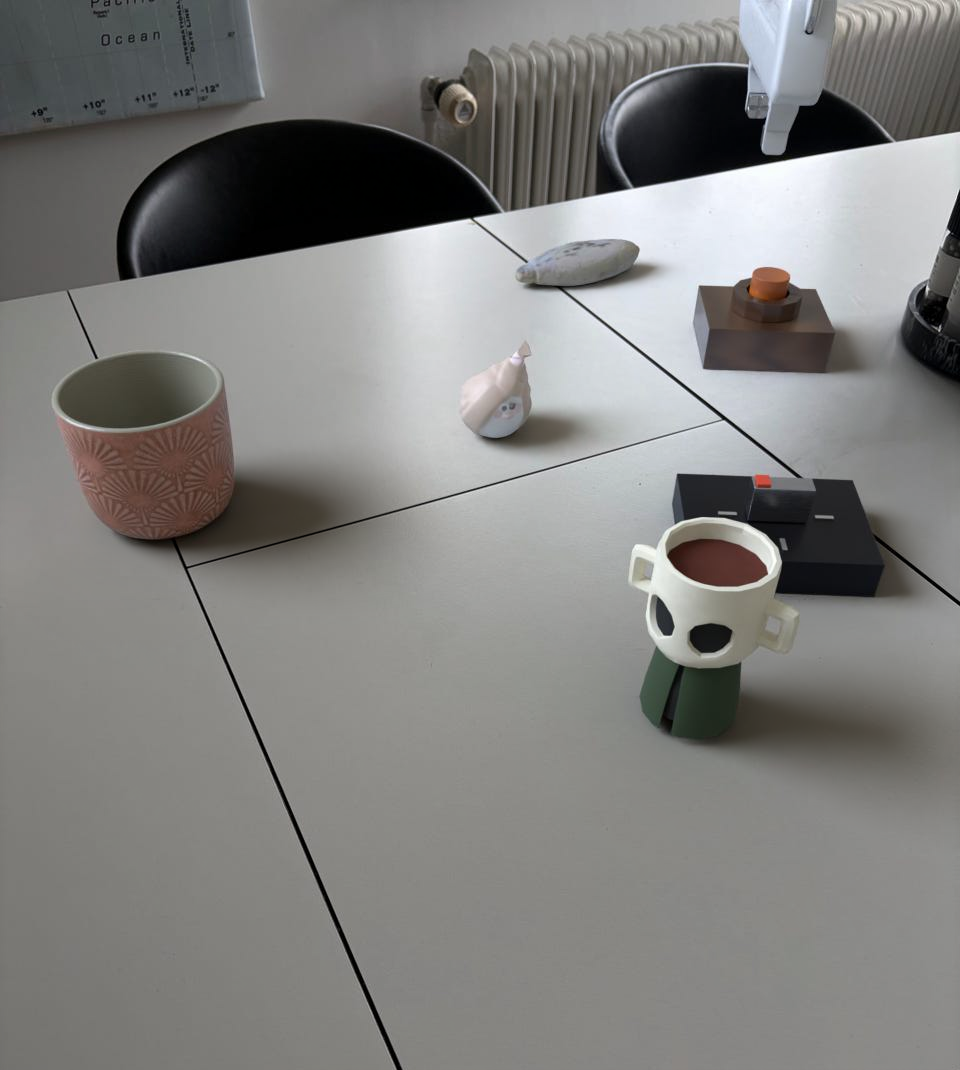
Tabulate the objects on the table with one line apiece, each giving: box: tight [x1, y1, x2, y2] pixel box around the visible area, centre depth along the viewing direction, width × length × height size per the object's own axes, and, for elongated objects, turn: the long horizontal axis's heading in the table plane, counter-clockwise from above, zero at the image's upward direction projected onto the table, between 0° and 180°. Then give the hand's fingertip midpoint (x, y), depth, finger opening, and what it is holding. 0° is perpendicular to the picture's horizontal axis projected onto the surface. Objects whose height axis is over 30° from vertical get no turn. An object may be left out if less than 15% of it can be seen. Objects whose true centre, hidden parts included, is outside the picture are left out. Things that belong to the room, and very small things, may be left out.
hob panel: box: [671, 472, 886, 598], centre depth 80 cm, size 14×11×3 cm
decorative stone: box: [514, 238, 641, 287], centre depth 117 cm, size 6×16×3 cm, turn 116°
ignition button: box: [749, 266, 791, 300], centre depth 102 cm, size 4×4×2 cm
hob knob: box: [745, 474, 816, 523], centre depth 78 cm, size 4×2×3 cm, turn 87°
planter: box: [51, 348, 235, 540], centre depth 80 cm, size 12×12×11 cm
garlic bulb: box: [458, 339, 533, 439], centre depth 91 cm, size 7×6×8 cm
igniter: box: [692, 277, 836, 374], centre depth 104 cm, size 12×10×6 cm
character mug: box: [627, 517, 801, 740], centre depth 64 cm, size 11×7×13 cm, turn 53°
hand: (763, 133), depth 86 cm, fingers open, 8 cm apart
